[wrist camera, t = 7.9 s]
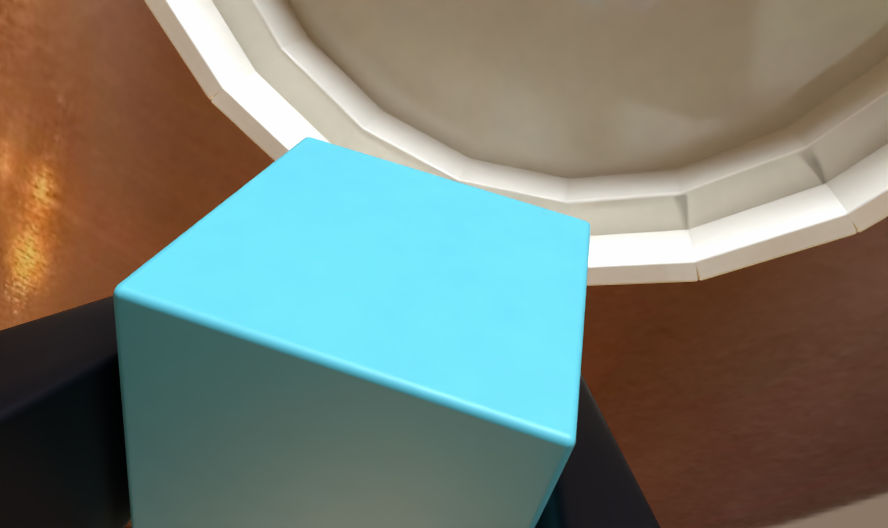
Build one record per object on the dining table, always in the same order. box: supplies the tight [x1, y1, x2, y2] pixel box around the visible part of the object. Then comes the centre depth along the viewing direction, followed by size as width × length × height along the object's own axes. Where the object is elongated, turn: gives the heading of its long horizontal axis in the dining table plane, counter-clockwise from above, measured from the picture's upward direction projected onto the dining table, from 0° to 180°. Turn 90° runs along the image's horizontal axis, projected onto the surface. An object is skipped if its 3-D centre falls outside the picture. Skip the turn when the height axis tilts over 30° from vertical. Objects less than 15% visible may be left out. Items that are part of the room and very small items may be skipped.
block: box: [113, 137, 591, 528], centre depth 8 cm, size 4×4×4 cm
